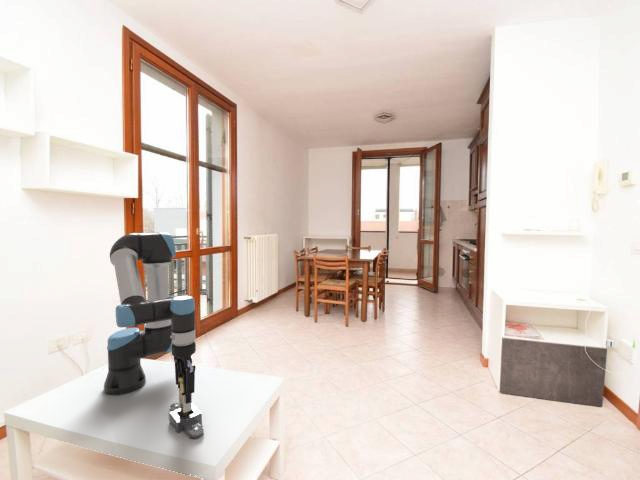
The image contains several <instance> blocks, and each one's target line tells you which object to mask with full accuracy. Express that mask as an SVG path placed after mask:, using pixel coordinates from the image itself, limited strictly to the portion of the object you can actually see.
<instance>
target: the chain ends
mask: <svg viewBox="0 0 640 480" xmlns="http://www.w3.org/2000/svg"><path fill="white" fill-rule="evenodd" d="M168 414H169V417H168V418H169V423H170V425H171V426H172V427H173V428H174V430H175V431H176V433H177V434H179V433H182V432H184V434H185V435H186V436H187V437H188V438H189V439H190V440H197V439H200V438H201V437H202V436H203V434H204V433H205V432H204V427H203V425H201V424H202V423H203V418H202V417H203V416H202V411H200V409H198V407H197V406H196V405H195V404H194V403H193V402H192V410H191V411H190V414H189V415H187V416H181V408H179V401H178V402H174V403H172V404H171V405H170V406H169V413H168Z"/></svg>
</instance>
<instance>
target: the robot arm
mask: <svg viewBox="0 0 640 480" xmlns="http://www.w3.org/2000/svg"><path fill="white" fill-rule="evenodd" d="M174 241H175V240H174V238H173V236H172V234H170V233H169V232H159V231H158V232H131V233H127V234H124V235H123V236H121V237H120V238H118V239H117V240H116V241H115V242H114V244H113V245H112V246H111V249H110V252H109V260H110V264H112V266H113V267H114V271H115V272H114V273H115V277H116V283H117V289H118V296H119V302H120V304H119V305H117V306H116V307H115V322H116V326H117V327H118V328H124V329H121V330H118V331H116V332H114V333H112V334H111V335H109V337H108V338H107V347H106V349H107V365H108V366H107V367H108V369H107V370H108V371H107V375H106V378H105V381H104V383H103V391H104V393H105V394H107V395H109V396H118V395H125V394H128V393H131V392H134V391H137V390H139V389H140V388H142V387H143V386H144V385H145V384H146V381H147V380H146V377H147V376H146V374H145V372H144V369H143V367H142V364H141V359H144V358H149V357H153V356H158V355H162V354H166V353H170V352H171V356H172V357H173V362H174V373H175V374H174V375H175V376H174V377H175V385H176V386H177V389H178V402H179V408H181V400H180V382H179V381H178V377H180V376H183V389H184V393H182V396H183V413H186V412H188V411H191V410H192V403H193V401H192V399H193V398H192V394H193V393H195V387H196V386H195V381H196V379H195V378H196V377H195V376H196V374H195V373H196V365H193V359H192V355H194V354H195V353H196V351H197V348H196V344H197V343H196V339H197V338H196V312H195V311H196V305H195V298H194V297H193V296H190V295H179V296H177V295H170V291H169V290H170V287H169V286H170V285H169V265H170V264H171V263H172V259H174V258H175V257H176V256H177V255H176V253H177V252H176V244H175V242H174ZM138 261H141V264H142V265H143V266H145V268H146V291H147V292H146V295H147V296H145V291H144V289H143V284H142V281H141V280H142V279H141V277H140V276H141V275H140V273H139V267H138V263H137V262H138ZM146 297H147V301H146ZM141 325H144V329H143V330H141V329H139V328H138V327H136V326H141Z"/></svg>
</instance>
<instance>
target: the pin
mask: <svg viewBox="0 0 640 480" xmlns="http://www.w3.org/2000/svg"><path fill="white" fill-rule="evenodd" d="M178 381H179V382H180V400H181V416H187V415H189V414H190V411H188V412H186V413H183V396H182V393H184V389H183V376H180V377H178Z"/></svg>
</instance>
